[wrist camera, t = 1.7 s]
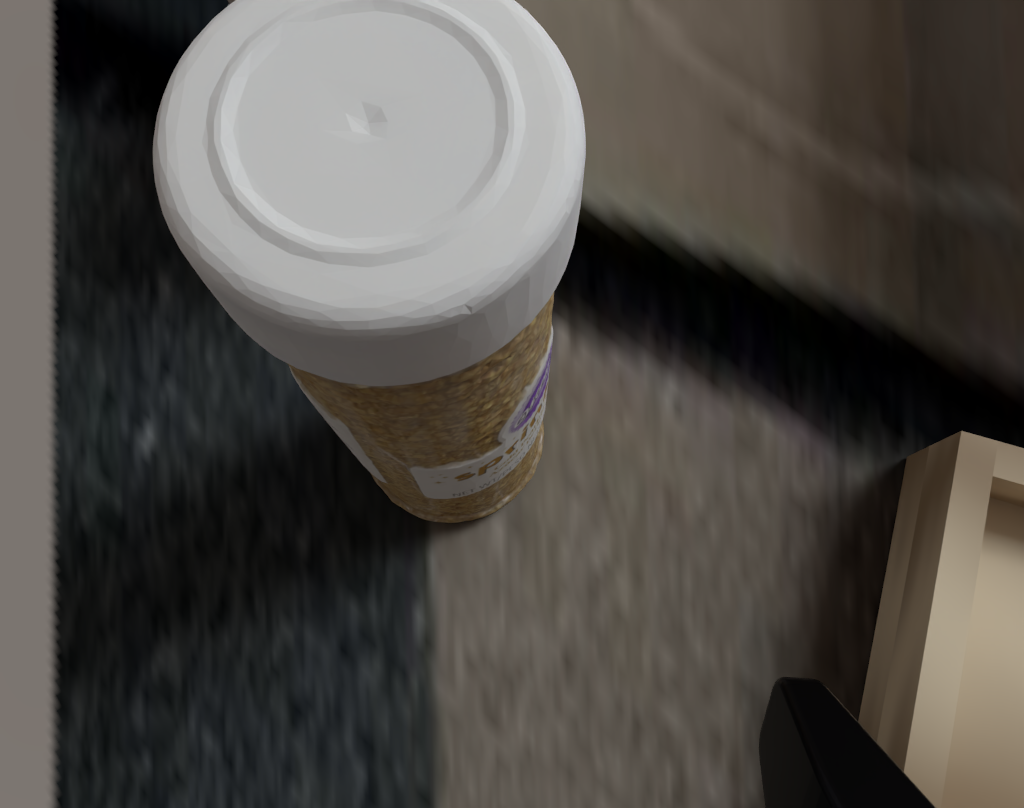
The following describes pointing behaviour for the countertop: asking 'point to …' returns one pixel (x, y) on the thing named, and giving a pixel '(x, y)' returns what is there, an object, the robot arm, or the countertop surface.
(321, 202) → the sprinkles bottle
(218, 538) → the countertop surface
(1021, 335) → the countertop surface
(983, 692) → the caddy
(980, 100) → the countertop surface
